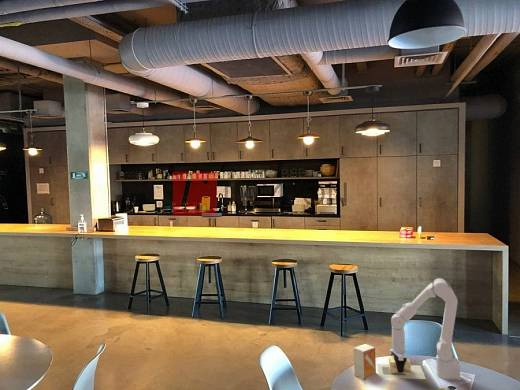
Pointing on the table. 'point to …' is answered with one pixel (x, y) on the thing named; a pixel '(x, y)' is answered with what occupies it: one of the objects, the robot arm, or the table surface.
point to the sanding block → (394, 367)
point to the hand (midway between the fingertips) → (399, 369)
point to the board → (385, 373)
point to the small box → (364, 361)
